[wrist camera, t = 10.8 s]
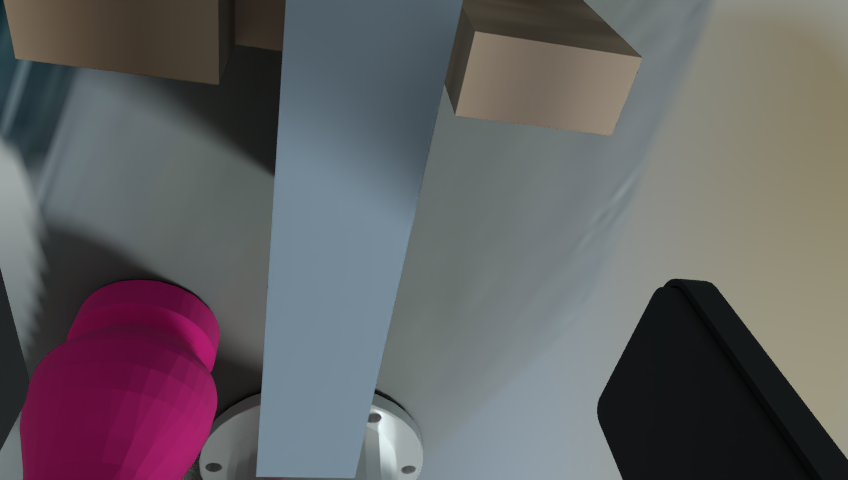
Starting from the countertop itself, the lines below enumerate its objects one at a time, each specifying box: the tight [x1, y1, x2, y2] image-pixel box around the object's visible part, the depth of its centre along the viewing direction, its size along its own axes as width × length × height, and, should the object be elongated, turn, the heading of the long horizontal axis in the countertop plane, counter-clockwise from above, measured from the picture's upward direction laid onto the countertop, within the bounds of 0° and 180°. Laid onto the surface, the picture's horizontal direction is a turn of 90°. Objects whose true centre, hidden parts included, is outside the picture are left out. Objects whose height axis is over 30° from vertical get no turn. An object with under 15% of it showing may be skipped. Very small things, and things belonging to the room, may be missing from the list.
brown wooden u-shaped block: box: [4, 0, 643, 136], centre depth 18 cm, size 16×2×6 cm, turn 79°
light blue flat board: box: [256, 0, 463, 478], centre depth 16 cm, size 16×2×13 cm, turn 169°
